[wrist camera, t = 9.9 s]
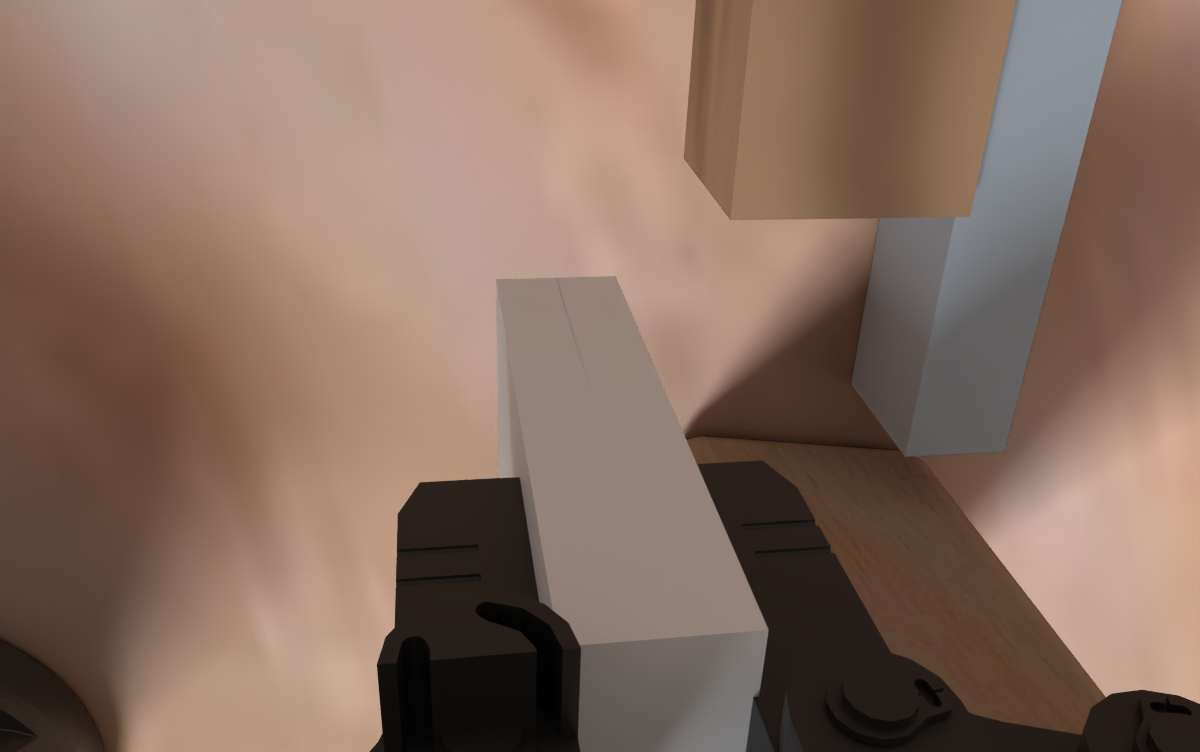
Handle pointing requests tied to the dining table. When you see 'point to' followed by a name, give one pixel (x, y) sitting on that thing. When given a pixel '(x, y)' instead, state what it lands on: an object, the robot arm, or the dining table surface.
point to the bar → (984, 248)
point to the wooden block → (929, 579)
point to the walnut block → (843, 105)
